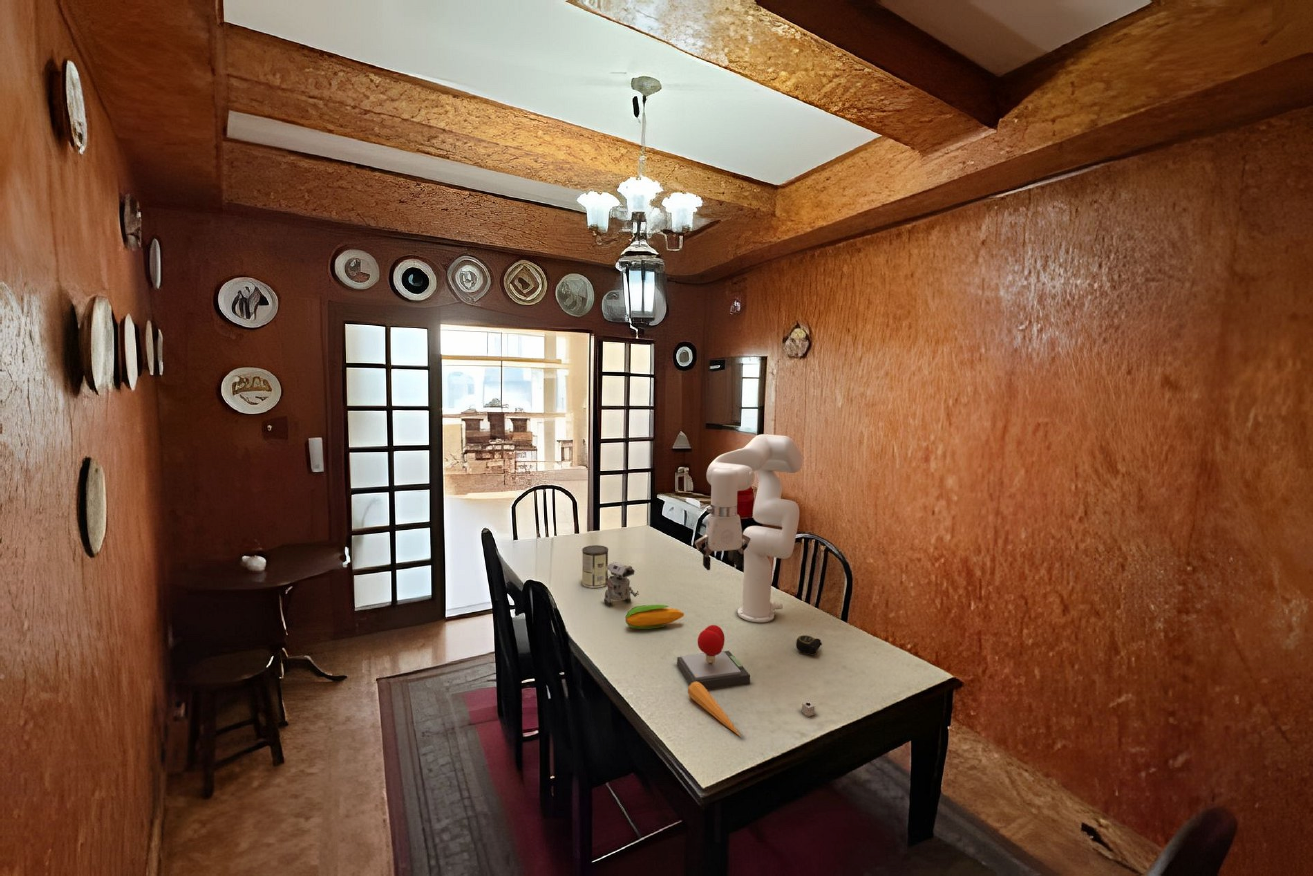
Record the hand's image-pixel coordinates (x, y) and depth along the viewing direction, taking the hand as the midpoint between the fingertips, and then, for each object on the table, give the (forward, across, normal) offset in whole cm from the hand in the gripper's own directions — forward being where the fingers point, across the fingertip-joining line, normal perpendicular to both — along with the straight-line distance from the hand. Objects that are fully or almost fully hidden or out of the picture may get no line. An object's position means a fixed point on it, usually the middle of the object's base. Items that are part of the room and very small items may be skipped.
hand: (722, 567), depth 164 cm
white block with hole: (+26, +9, -34) cm, 44 cm away
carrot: (+26, -14, -29) cm, 42 cm away
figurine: (+27, -21, +42) cm, 54 cm away
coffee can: (+28, -26, +65) cm, 75 cm away
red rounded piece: (+23, -8, -11) cm, 27 cm away
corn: (+27, -14, +22) cm, 37 cm away
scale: (+26, -7, -11) cm, 29 cm away
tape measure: (+27, +27, -6) cm, 39 cm away
